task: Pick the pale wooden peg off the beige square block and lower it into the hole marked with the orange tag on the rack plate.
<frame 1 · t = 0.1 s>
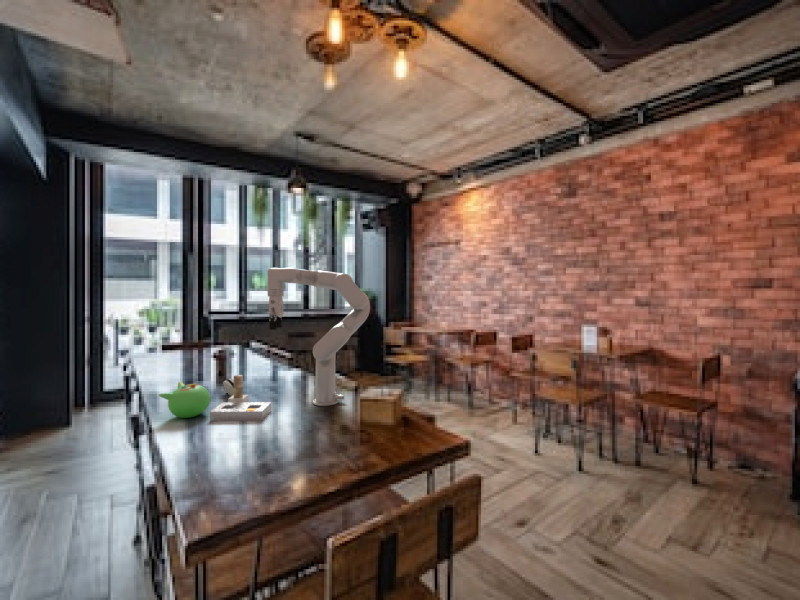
hand: (275, 328, 203), 37 cm above the table, tool pointing down, fingers open, 9 cm apart
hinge: (233, 396, 217), on the table
toy bird: (188, 416, 183), on the table
rack plate: (241, 415, 184), on the table
beige square block: (238, 407, 197), on the table
peg: (238, 396, 197), point 5 cm above the table, touching beige square block
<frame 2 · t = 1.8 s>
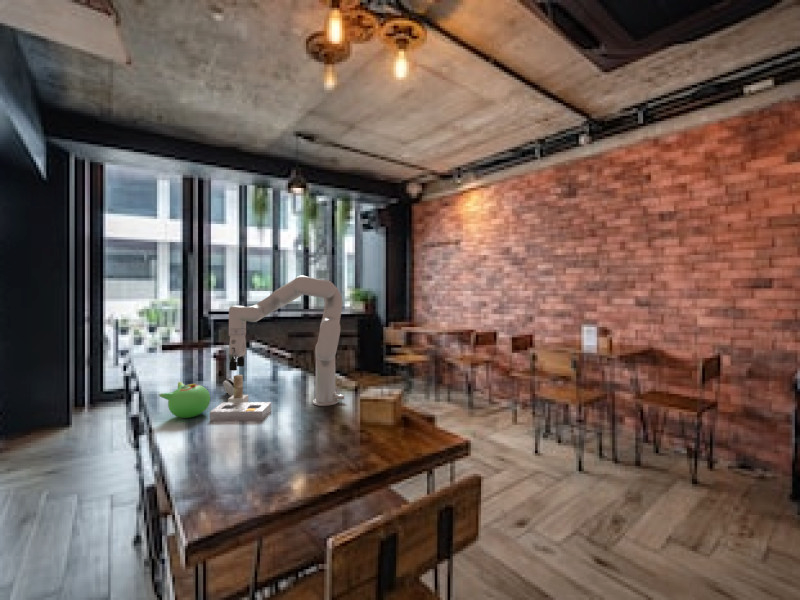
hand: (236, 368, 196), 19 cm above the table, tool pointing down, fingers open, 9 cm apart
nothing on the table moved.
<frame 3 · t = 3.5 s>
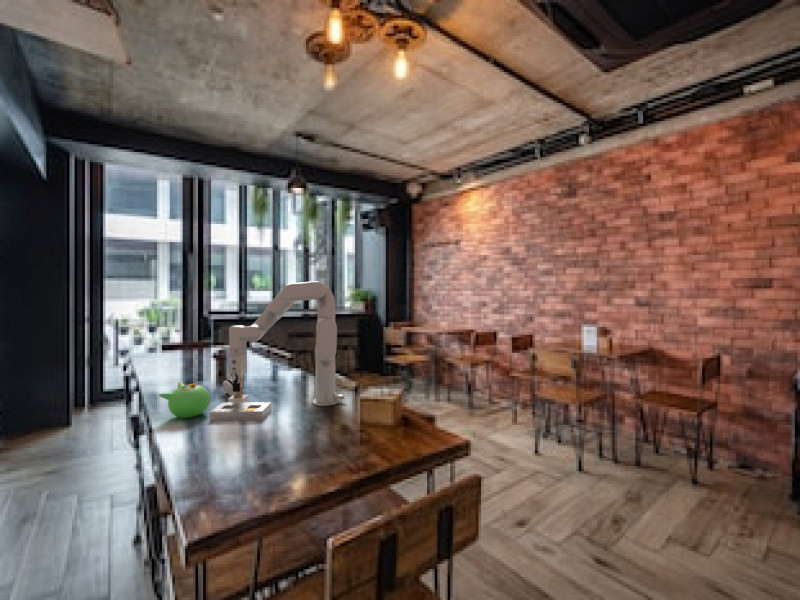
hand: (238, 389, 197), 8 cm above the table, tool pointing down, fingers closed on peg, 4 cm apart
peg: (238, 396, 197), point 5 cm above the table, touching gripper, beige square block
everything else where it was.
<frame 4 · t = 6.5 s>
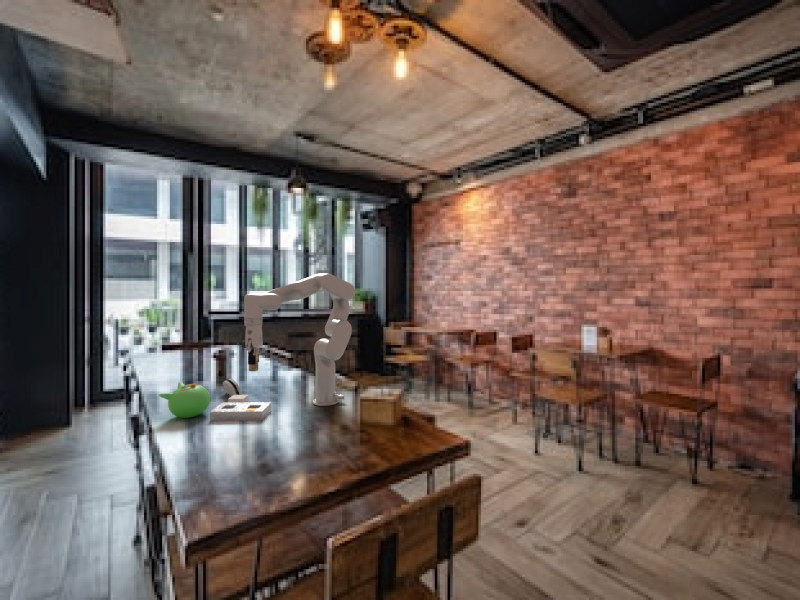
hand: (253, 363, 183), 23 cm above the table, tool pointing down, fingers closed on peg, 4 cm apart
peg: (253, 370, 184), point 20 cm above the table, touching gripper
everything else where it was.
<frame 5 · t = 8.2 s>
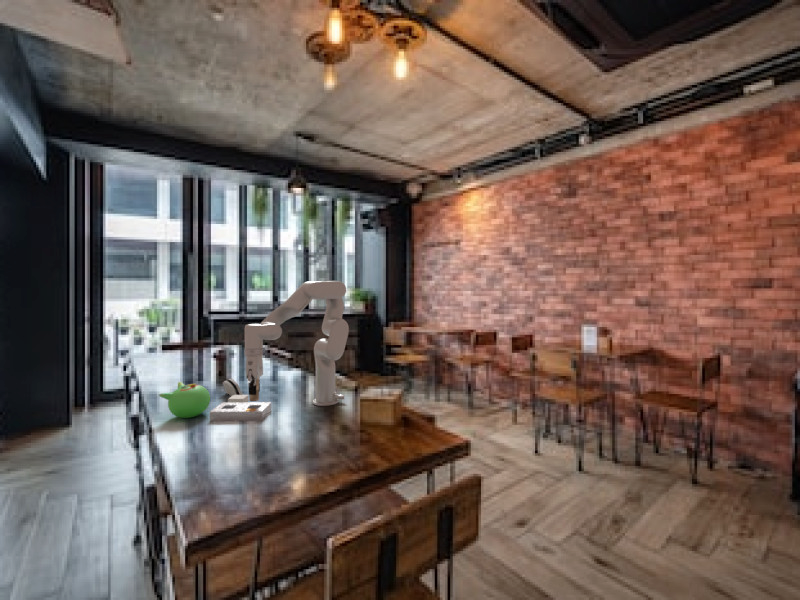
hand: (254, 392, 184), 10 cm above the table, tool pointing down, fingers closed on peg, 4 cm apart
peg: (254, 400, 184), point 7 cm above the table, touching gripper
everything else where it was.
when the fingers open (6 cm above the table, at t = 9.6 s): peg drops 3 cm, resting in rack plate.
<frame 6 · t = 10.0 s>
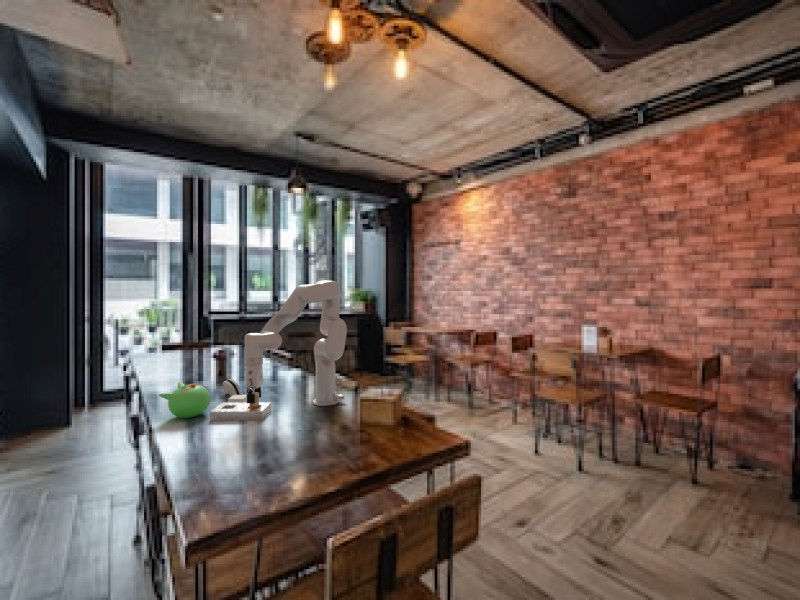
hand: (254, 400, 184), 7 cm above the table, tool pointing down, fingers open, 8 cm apart
peg: (254, 415, 184), resting in rack plate
everything else where it was.
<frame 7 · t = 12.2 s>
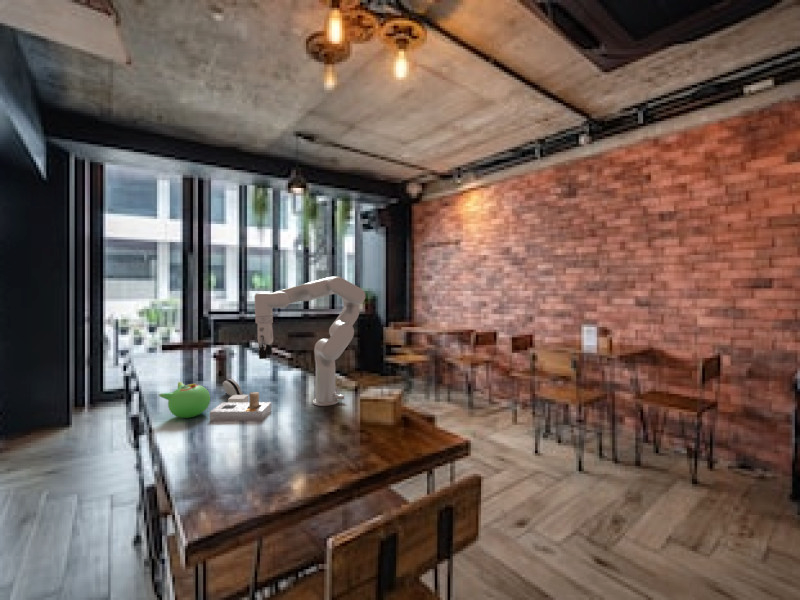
hand: (265, 356, 191), 25 cm above the table, tool pointing down, fingers open, 9 cm apart
nothing on the table moved.
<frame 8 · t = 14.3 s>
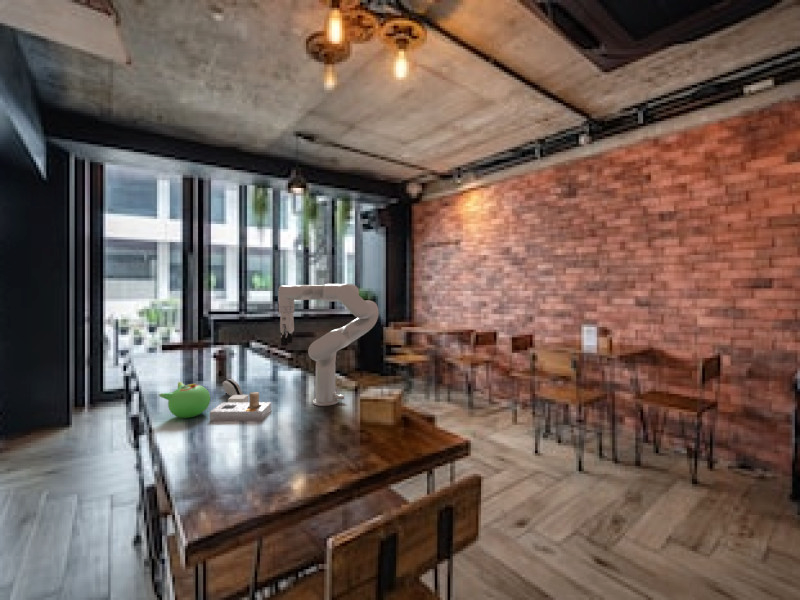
hand: (286, 344, 209), 28 cm above the table, tool pointing down, fingers open, 9 cm apart
nothing on the table moved.
at the end: peg 0.0 cm from the target spot on the rack plate, point 0.0 cm above the rack plate's base; peg tilted 0°; the gripper is holding nothing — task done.
